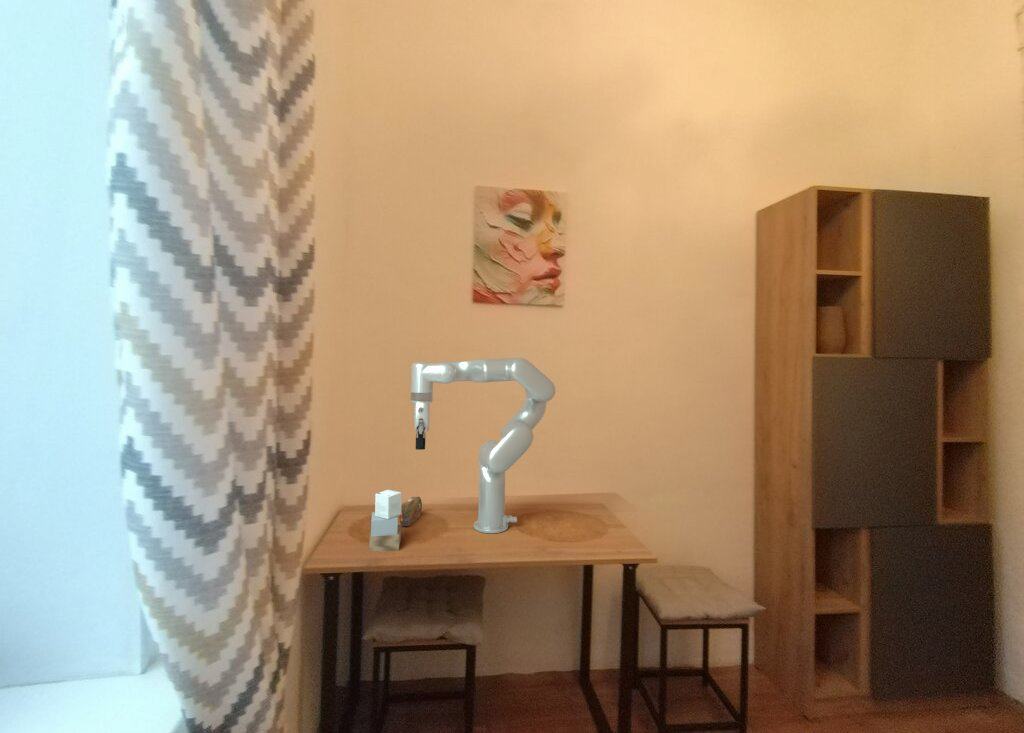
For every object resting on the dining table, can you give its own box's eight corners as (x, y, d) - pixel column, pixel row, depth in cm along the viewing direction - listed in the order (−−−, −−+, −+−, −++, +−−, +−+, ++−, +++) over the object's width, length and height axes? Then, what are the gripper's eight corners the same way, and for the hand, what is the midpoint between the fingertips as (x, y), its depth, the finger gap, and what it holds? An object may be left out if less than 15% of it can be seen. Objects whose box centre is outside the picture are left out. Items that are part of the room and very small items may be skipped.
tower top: (396, 525, 149) (396, 510, 149) (397, 534, 141) (397, 519, 141) (371, 527, 147) (371, 512, 147) (370, 536, 139) (371, 520, 139)
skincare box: (401, 514, 145) (402, 492, 145) (387, 520, 140) (388, 496, 140) (388, 511, 148) (388, 489, 148) (374, 516, 143) (374, 493, 143)
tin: (405, 529, 158) (406, 506, 158) (397, 528, 159) (397, 505, 158) (422, 515, 173) (422, 494, 173) (414, 514, 173) (415, 493, 173)
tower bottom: (400, 539, 150) (401, 524, 150) (398, 551, 141) (399, 535, 141) (373, 540, 148) (373, 525, 148) (369, 552, 139) (369, 536, 139)
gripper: (433, 400, 147) (431, 451, 147) (432, 395, 164) (431, 441, 164) (409, 399, 146) (408, 451, 146) (411, 395, 163) (410, 442, 163)
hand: (420, 446), depth 155 cm, fingers open, 9 cm apart
